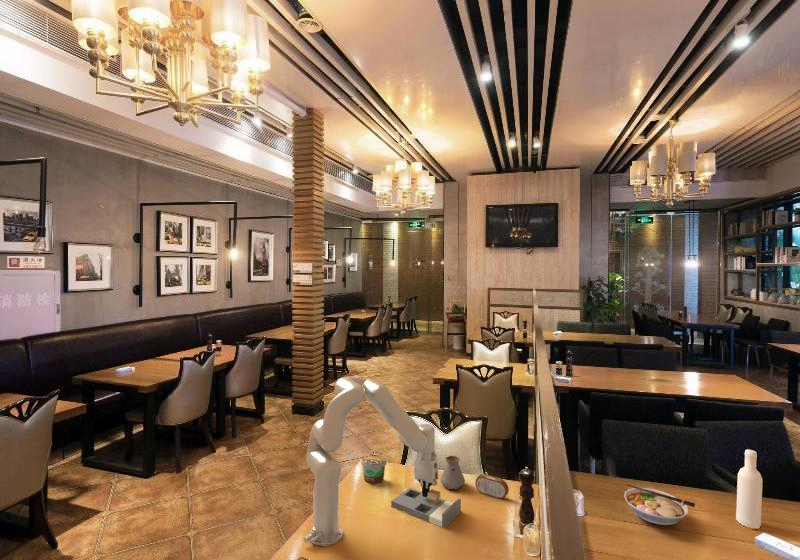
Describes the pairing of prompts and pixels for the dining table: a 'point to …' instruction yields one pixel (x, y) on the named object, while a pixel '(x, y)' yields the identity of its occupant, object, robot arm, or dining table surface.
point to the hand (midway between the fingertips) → (425, 495)
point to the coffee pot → (452, 474)
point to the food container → (373, 470)
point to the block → (433, 496)
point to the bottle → (749, 492)
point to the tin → (492, 486)
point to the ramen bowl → (656, 505)
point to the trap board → (427, 507)
